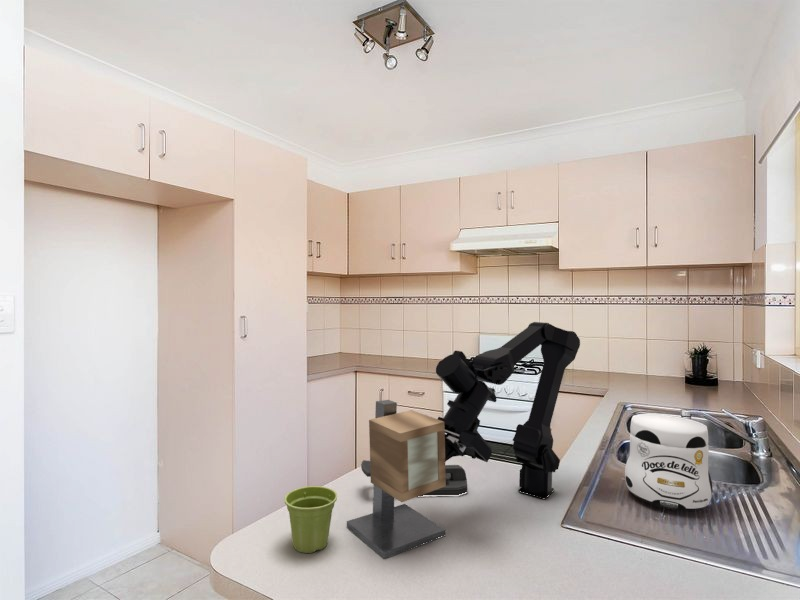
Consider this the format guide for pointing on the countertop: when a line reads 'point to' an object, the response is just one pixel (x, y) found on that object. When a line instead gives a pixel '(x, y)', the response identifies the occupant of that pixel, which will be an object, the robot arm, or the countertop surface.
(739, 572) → the countertop surface
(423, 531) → the post stand
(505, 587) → the countertop surface
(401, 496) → the cardboard box
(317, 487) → the plant pot
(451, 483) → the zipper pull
